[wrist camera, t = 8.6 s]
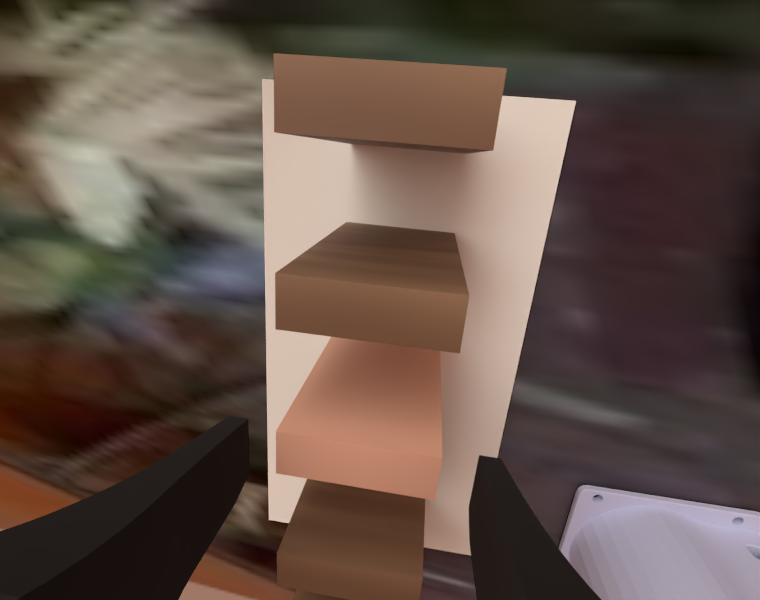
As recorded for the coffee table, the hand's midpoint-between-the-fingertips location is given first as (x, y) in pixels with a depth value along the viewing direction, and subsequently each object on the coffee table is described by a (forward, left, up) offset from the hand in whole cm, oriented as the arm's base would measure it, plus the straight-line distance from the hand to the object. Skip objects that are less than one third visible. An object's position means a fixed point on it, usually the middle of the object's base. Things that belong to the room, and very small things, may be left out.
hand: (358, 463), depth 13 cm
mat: (0, +1, -9) cm, 9 cm away
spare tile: (0, 0, -9) cm, 9 cm away
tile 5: (0, -10, -9) cm, 13 cm away
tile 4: (0, -5, -9) cm, 10 cm away
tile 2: (0, +5, -9) cm, 10 cm away
